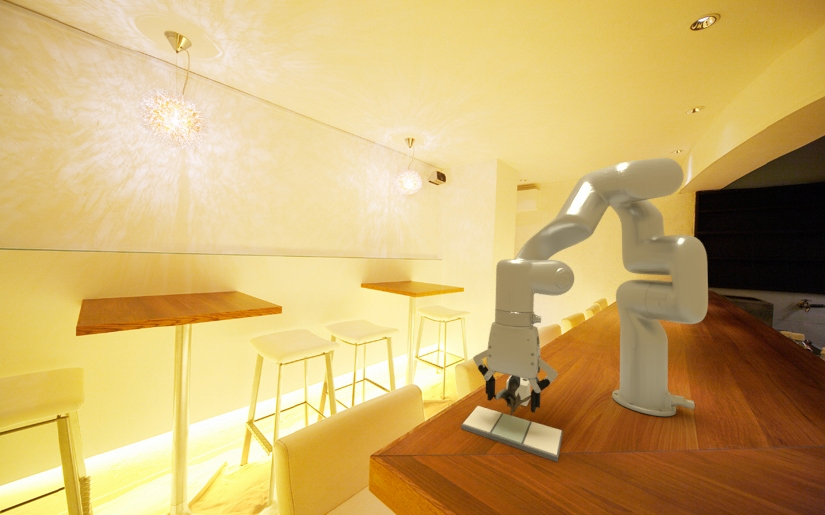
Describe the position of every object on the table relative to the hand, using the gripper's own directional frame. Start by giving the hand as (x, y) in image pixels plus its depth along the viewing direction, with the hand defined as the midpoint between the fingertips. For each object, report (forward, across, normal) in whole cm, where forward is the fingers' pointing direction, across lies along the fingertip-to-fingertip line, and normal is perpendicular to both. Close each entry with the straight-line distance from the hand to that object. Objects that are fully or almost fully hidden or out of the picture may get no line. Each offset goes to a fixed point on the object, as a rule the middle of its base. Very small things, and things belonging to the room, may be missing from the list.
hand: (511, 403), depth 60 cm
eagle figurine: (+2, +1, -2) cm, 2 cm away
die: (+6, +2, -16) cm, 17 cm away
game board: (+6, 0, 0) cm, 6 cm away
